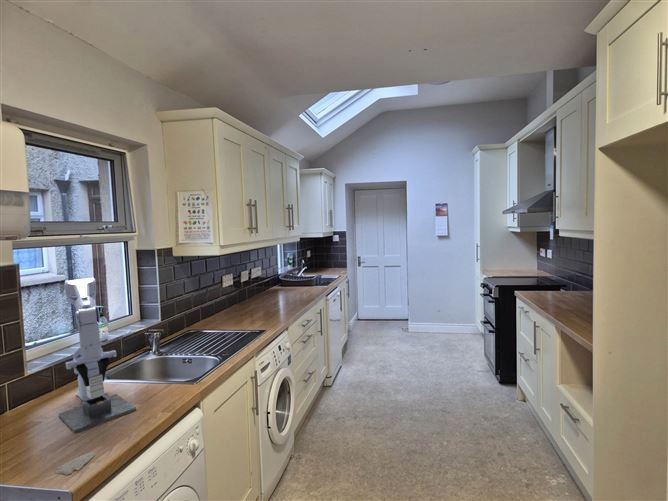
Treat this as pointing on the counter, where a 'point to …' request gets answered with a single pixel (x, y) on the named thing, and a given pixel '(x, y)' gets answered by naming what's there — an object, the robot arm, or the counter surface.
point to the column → (95, 385)
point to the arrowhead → (75, 464)
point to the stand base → (96, 412)
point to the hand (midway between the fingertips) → (94, 383)
